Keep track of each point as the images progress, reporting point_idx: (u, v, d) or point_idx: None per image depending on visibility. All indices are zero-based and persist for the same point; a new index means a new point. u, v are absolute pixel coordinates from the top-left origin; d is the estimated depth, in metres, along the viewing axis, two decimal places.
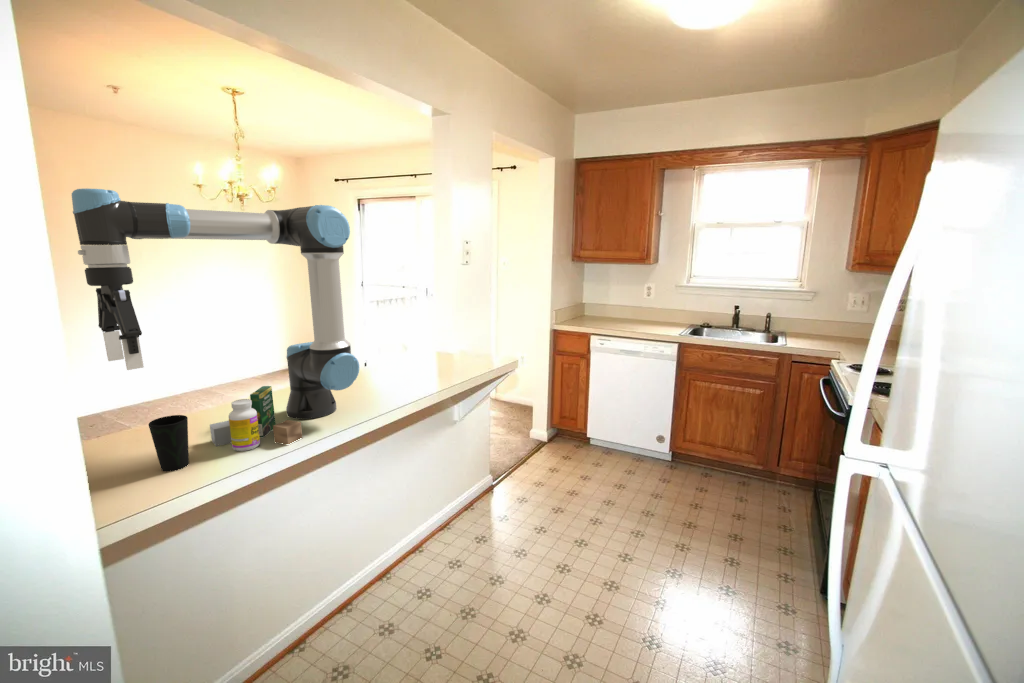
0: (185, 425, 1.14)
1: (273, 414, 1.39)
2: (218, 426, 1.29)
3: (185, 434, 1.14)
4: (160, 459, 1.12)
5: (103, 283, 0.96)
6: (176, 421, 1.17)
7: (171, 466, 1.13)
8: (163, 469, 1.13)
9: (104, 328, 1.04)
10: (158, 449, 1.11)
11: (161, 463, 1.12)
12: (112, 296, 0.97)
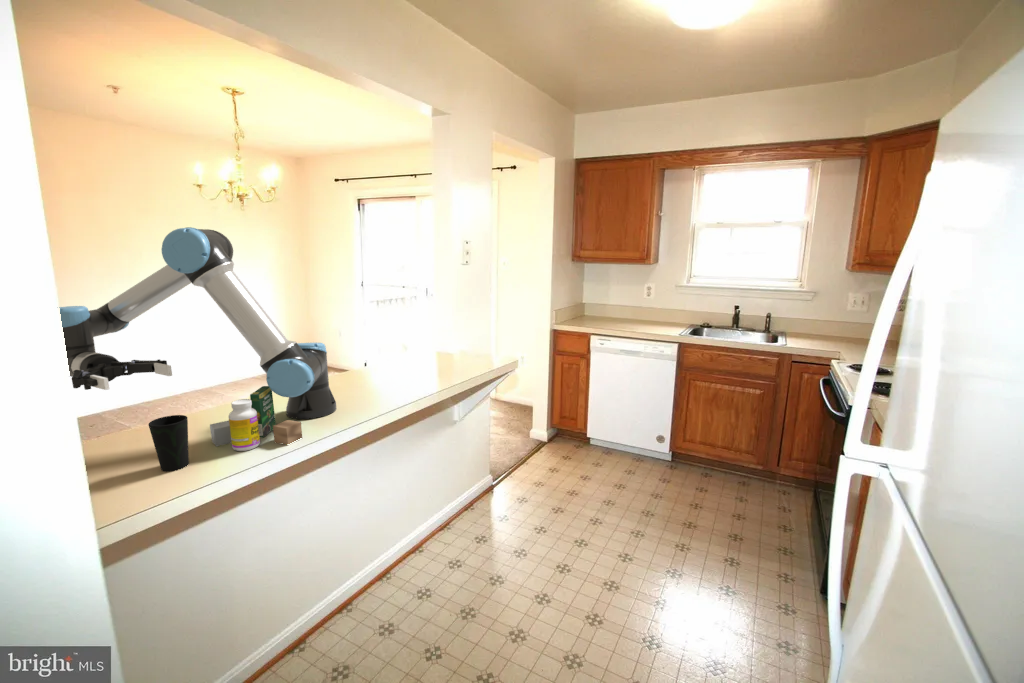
0: (185, 425, 1.14)
1: (273, 414, 1.39)
2: (218, 426, 1.29)
3: (185, 434, 1.14)
4: (160, 459, 1.12)
5: None
6: (176, 421, 1.17)
7: (171, 466, 1.13)
8: (163, 469, 1.13)
9: (154, 371, 1.25)
10: (158, 449, 1.11)
11: (161, 463, 1.12)
12: None
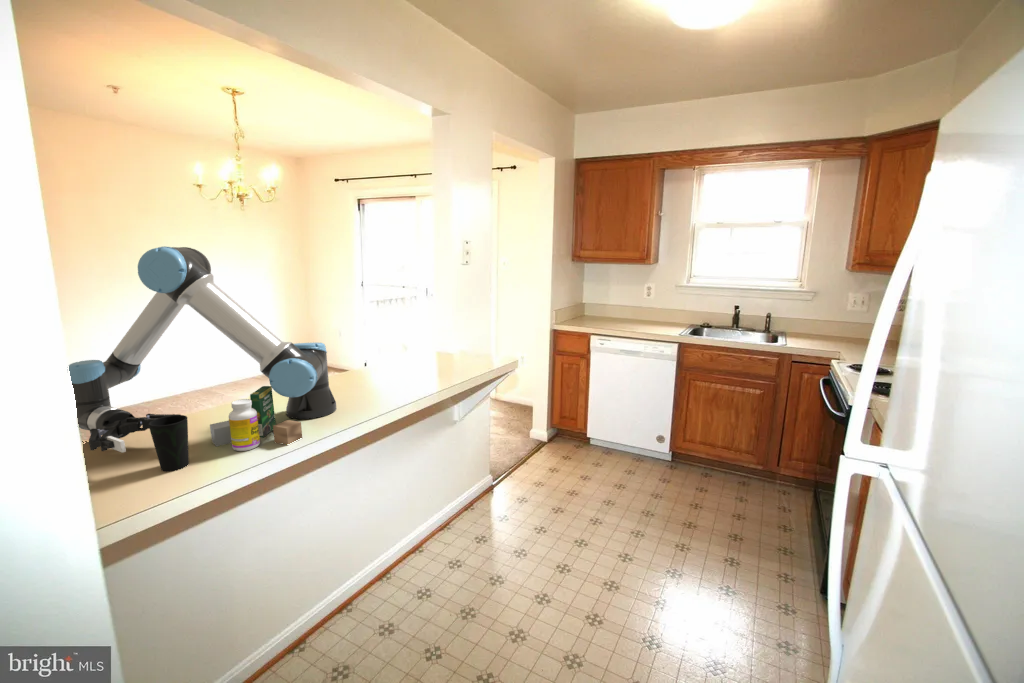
0: (185, 425, 1.14)
1: (273, 414, 1.39)
2: (218, 426, 1.29)
3: (185, 434, 1.14)
4: (160, 459, 1.12)
5: None
6: (176, 421, 1.17)
7: (171, 466, 1.13)
8: (163, 469, 1.13)
9: None
10: (158, 449, 1.11)
11: (161, 463, 1.12)
12: None
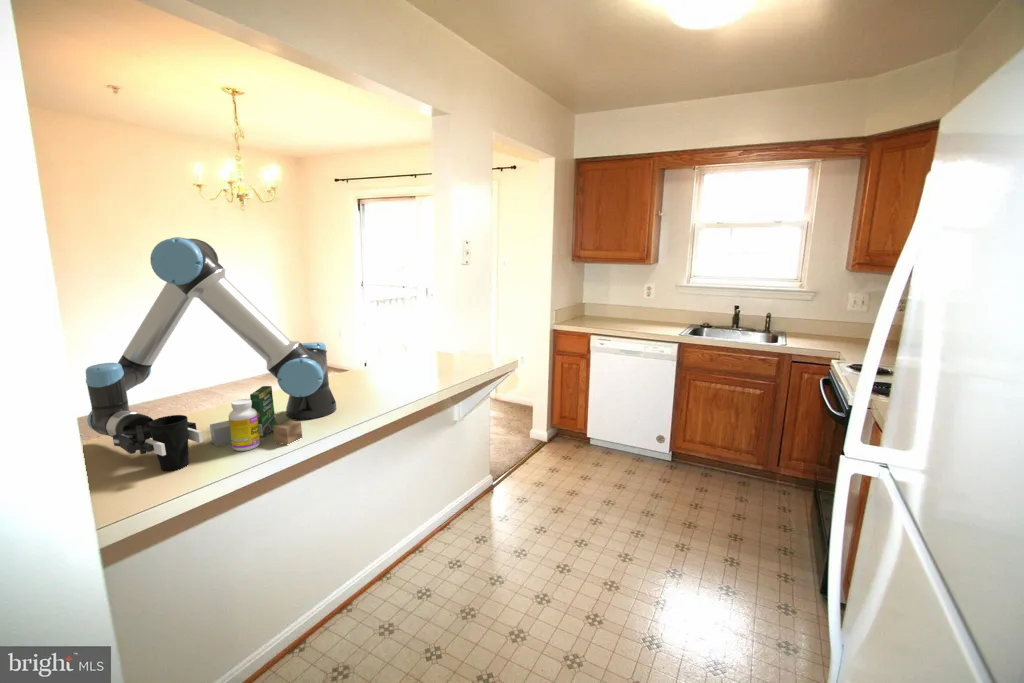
0: (185, 425, 1.14)
1: (273, 414, 1.39)
2: (218, 426, 1.29)
3: (185, 434, 1.14)
4: (160, 459, 1.12)
5: None
6: (176, 421, 1.17)
7: (171, 466, 1.13)
8: (163, 469, 1.13)
9: None
10: None
11: (161, 463, 1.12)
12: None
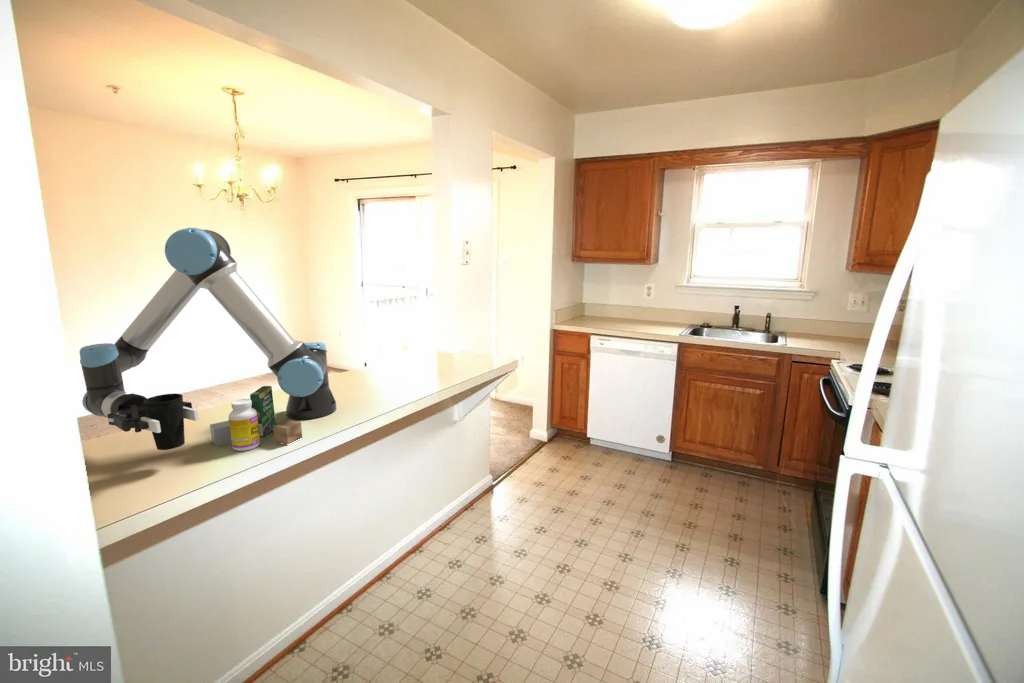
0: (180, 403, 1.13)
1: (273, 414, 1.39)
2: (218, 426, 1.29)
3: (180, 412, 1.13)
4: (155, 437, 1.11)
5: None
6: (171, 400, 1.15)
7: (167, 444, 1.12)
8: (159, 447, 1.12)
9: None
10: None
11: (156, 441, 1.11)
12: None
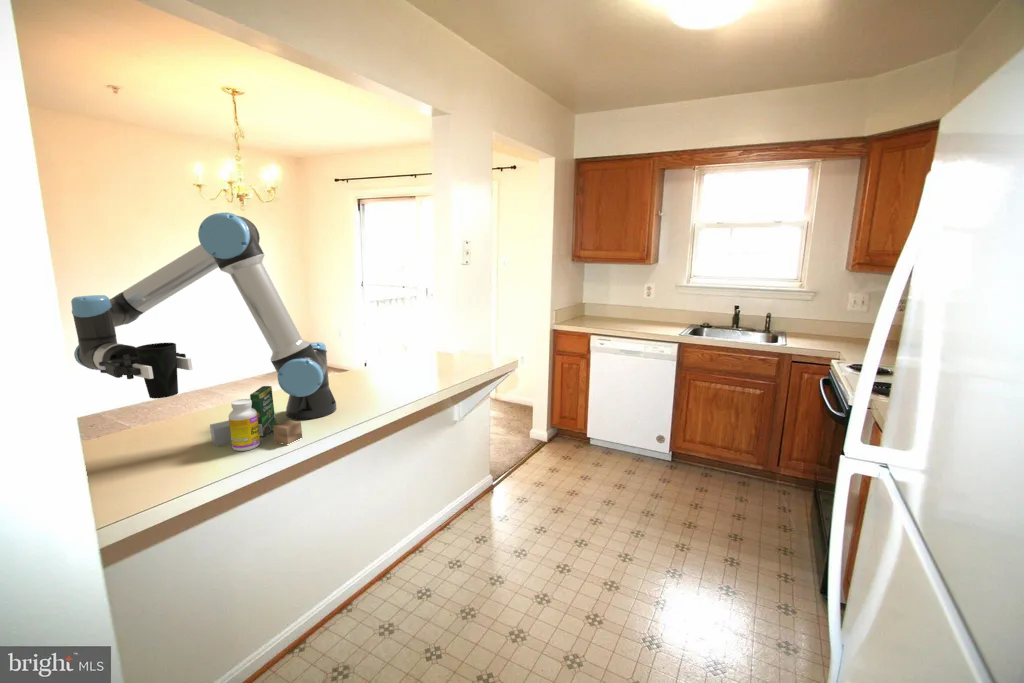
0: (173, 351, 1.10)
1: (273, 414, 1.39)
2: (218, 426, 1.29)
3: (174, 360, 1.11)
4: (148, 385, 1.08)
5: None
6: None
7: (159, 393, 1.09)
8: (151, 396, 1.09)
9: None
10: None
11: (149, 389, 1.09)
12: None
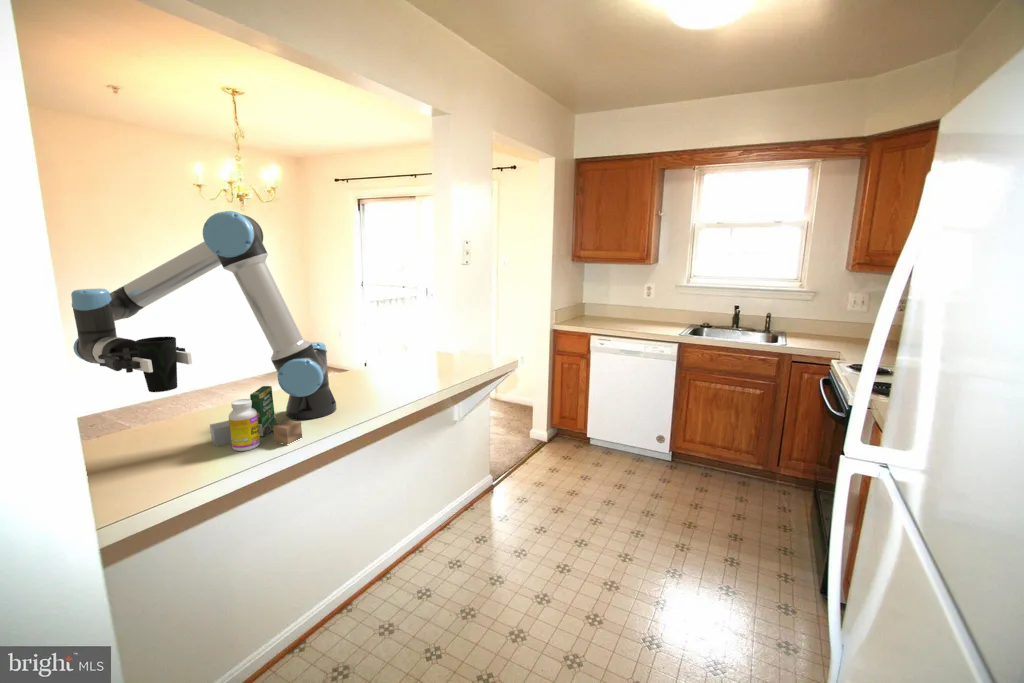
0: (173, 345, 1.10)
1: (273, 414, 1.39)
2: (218, 426, 1.29)
3: (173, 354, 1.10)
4: (147, 379, 1.08)
5: None
6: None
7: (158, 386, 1.09)
8: (150, 390, 1.09)
9: None
10: None
11: (148, 383, 1.09)
12: None
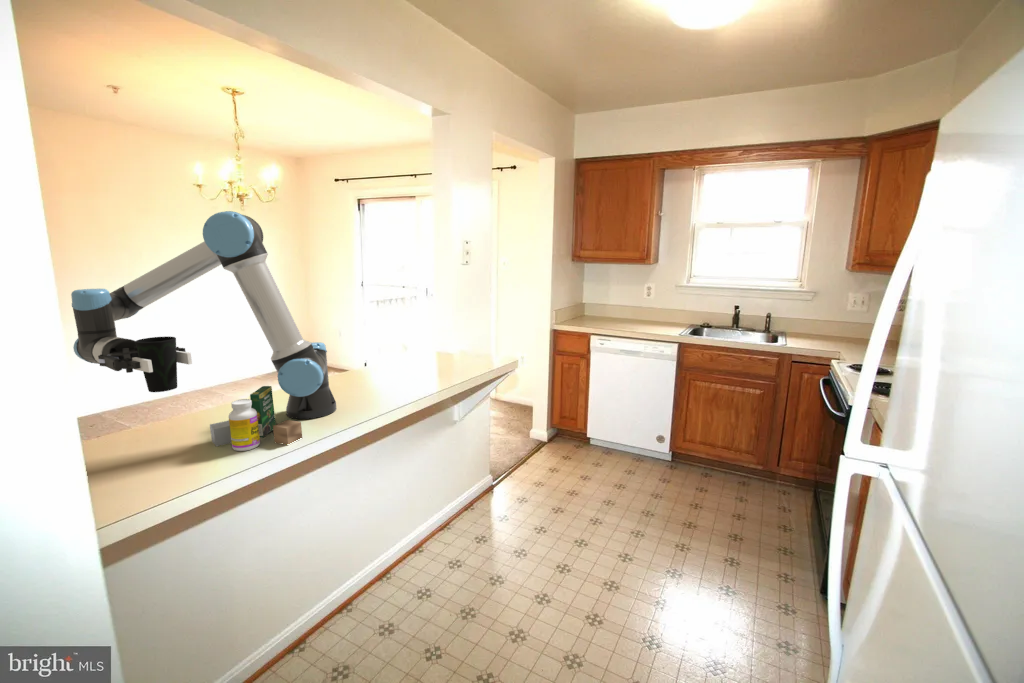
0: (173, 345, 1.10)
1: (273, 414, 1.39)
2: (218, 426, 1.29)
3: (173, 354, 1.10)
4: (147, 379, 1.08)
5: None
6: None
7: (158, 386, 1.09)
8: (150, 390, 1.09)
9: None
10: None
11: (148, 383, 1.09)
12: None
